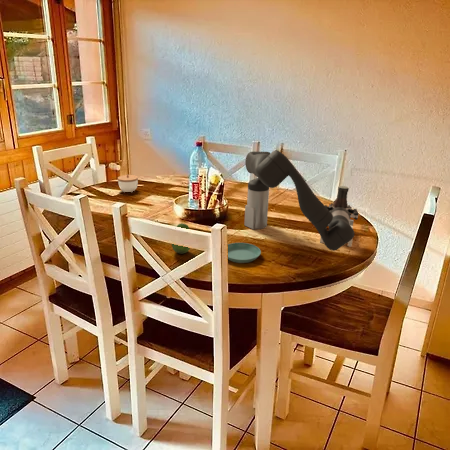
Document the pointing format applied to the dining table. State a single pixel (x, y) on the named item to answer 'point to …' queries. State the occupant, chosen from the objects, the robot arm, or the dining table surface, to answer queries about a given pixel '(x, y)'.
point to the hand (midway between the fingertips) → (340, 206)
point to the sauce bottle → (341, 197)
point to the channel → (349, 241)
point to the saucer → (242, 252)
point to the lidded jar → (128, 183)
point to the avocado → (180, 248)
